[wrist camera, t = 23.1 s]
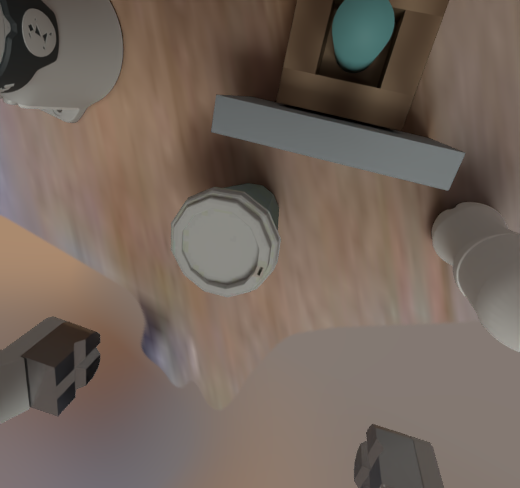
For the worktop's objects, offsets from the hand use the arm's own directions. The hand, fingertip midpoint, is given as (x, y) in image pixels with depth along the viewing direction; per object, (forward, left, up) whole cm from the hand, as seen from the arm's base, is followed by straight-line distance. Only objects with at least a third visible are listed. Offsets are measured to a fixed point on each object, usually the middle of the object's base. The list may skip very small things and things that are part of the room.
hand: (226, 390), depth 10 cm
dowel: (+1, +13, -32) cm, 35 cm away
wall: (+1, +5, -34) cm, 34 cm away
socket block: (+1, +13, -34) cm, 36 cm away
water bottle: (+18, -2, -34) cm, 39 cm away
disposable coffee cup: (-6, -6, -34) cm, 35 cm away
